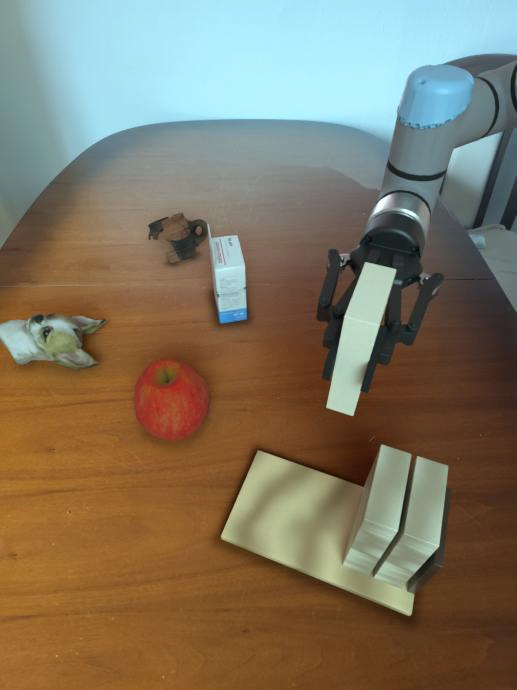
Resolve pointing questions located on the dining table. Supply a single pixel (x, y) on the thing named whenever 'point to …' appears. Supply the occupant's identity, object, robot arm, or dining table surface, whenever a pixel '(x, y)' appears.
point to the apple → (171, 400)
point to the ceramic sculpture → (50, 339)
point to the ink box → (228, 277)
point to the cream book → (359, 336)
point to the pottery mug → (179, 235)
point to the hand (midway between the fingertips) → (346, 377)
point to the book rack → (348, 523)
